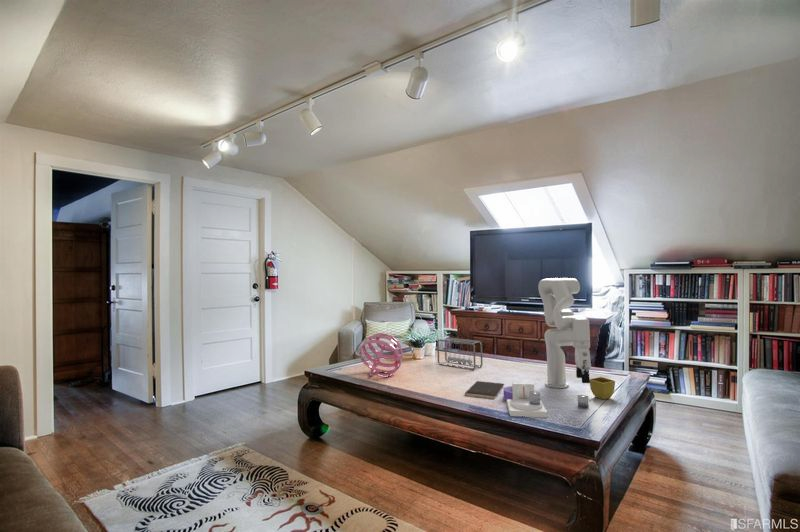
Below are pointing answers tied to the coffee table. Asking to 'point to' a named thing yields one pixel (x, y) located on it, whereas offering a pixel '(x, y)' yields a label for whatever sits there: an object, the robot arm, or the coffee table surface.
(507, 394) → the tape roll
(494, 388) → the hardcover book
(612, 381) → the flower pot
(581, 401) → the cylinder
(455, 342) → the newton's cradle
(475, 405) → the coffee table surface
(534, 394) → the cylinder
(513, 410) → the scale
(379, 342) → the pink openwork sphere sculpture
